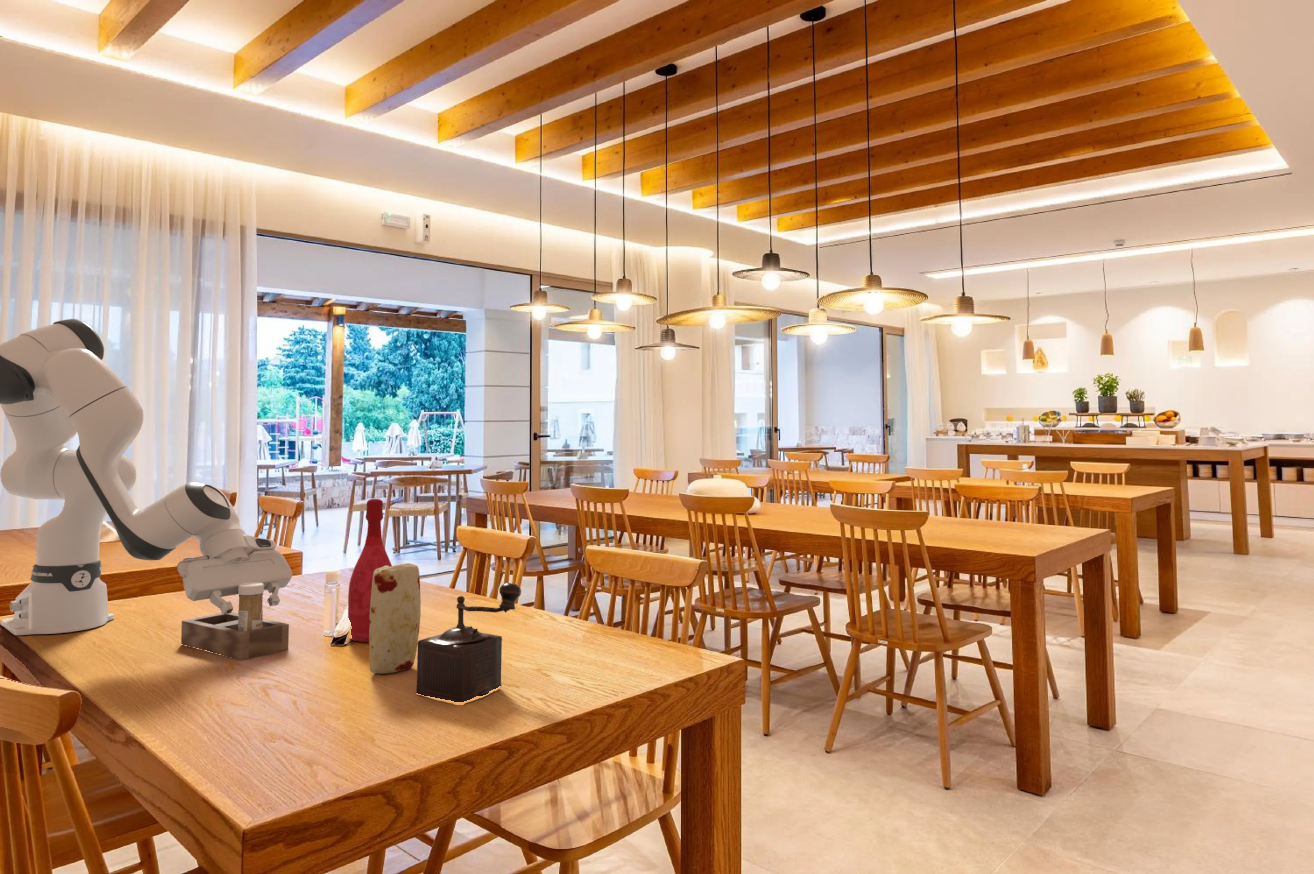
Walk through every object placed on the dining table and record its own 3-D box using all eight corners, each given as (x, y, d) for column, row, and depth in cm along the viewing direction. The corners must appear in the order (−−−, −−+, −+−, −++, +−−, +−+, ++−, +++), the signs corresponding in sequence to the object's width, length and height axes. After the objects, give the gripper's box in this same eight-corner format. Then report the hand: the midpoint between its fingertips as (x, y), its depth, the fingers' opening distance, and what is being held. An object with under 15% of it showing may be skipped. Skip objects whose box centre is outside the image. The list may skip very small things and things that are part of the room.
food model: (378, 680, 138) (381, 568, 138) (359, 672, 142) (362, 564, 142) (426, 669, 145) (429, 562, 145) (407, 661, 150) (409, 558, 150)
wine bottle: (337, 640, 164) (340, 499, 164) (370, 630, 173) (373, 496, 173) (373, 646, 160) (376, 501, 160) (405, 635, 169) (408, 498, 170)
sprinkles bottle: (264, 651, 154) (265, 584, 154) (238, 655, 152) (239, 586, 152) (260, 646, 158) (262, 580, 158) (235, 649, 156) (236, 582, 156)
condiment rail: (181, 645, 158) (181, 620, 158) (228, 634, 167) (229, 611, 167) (241, 660, 148) (241, 634, 148) (288, 648, 157) (288, 624, 157)
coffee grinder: (463, 707, 125) (466, 596, 125) (414, 695, 131) (416, 589, 131) (524, 682, 139) (526, 582, 139) (477, 672, 144) (479, 575, 144)
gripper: (180, 549, 150) (203, 606, 145) (281, 539, 167) (306, 590, 162) (168, 569, 153) (191, 627, 147) (269, 558, 170) (293, 608, 164)
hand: (252, 607), depth 155 cm, fingers open, 8 cm apart
